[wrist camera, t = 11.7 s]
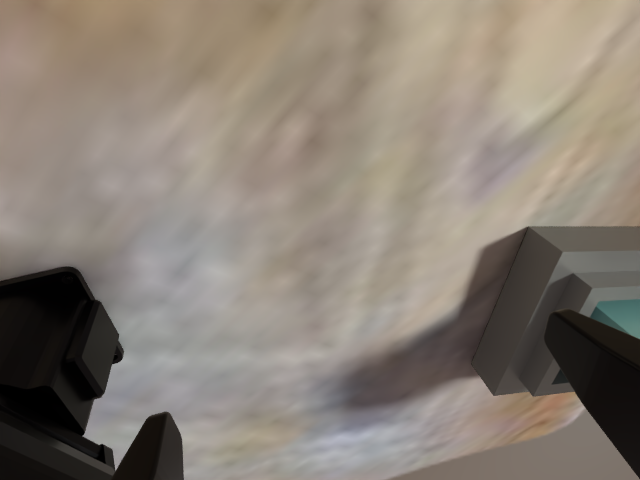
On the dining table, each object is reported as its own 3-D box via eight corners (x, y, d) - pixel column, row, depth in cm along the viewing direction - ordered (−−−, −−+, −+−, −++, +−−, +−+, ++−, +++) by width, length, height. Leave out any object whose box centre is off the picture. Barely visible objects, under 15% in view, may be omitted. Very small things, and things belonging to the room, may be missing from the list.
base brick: (471, 364, 32) (506, 413, 28) (528, 226, 26) (582, 266, 22) (595, 351, 35) (641, 395, 31) (671, 226, 29) (740, 261, 25)
